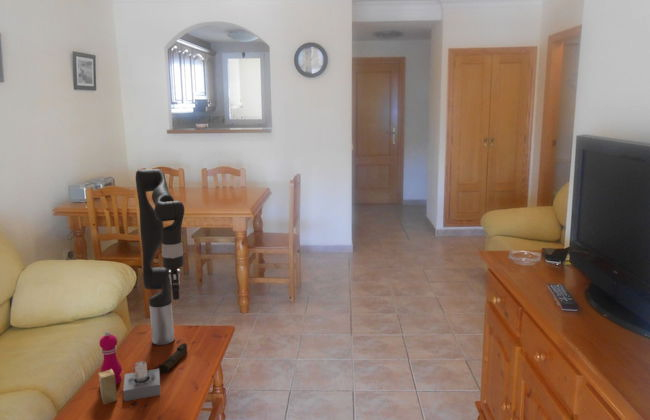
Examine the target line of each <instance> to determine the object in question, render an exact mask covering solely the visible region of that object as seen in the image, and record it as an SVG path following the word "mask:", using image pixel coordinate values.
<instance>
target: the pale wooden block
mask: <svg viewBox="0 0 650 420" xmlns="http://www.w3.org/2000/svg"><path fill="white" fill-rule="evenodd" d="M98 380H99V388H100V389H99V390H100V397H101V398H100V399H101V401H102V403H103V405H107V404H111V403H114V402H117V401H118V393H117V384H116V382H115V374H114V372H113V370H112V369H110V370H106V371H103V372H101V371H100V372H99V371H98Z"/></svg>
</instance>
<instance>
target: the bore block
mask: <svg viewBox="0 0 650 420" xmlns="http://www.w3.org/2000/svg"><path fill="white" fill-rule="evenodd" d="M160 374H161V373H160V372H159V368H155V369H147V375H148V381H146V382H144V383H136V375H135V372H130V373H125V374H124V377H123V378H124V380H123V389H122V392H123V402H129V401H134V400H139V399H146V398H150V397H157V396H161V375H160Z"/></svg>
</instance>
